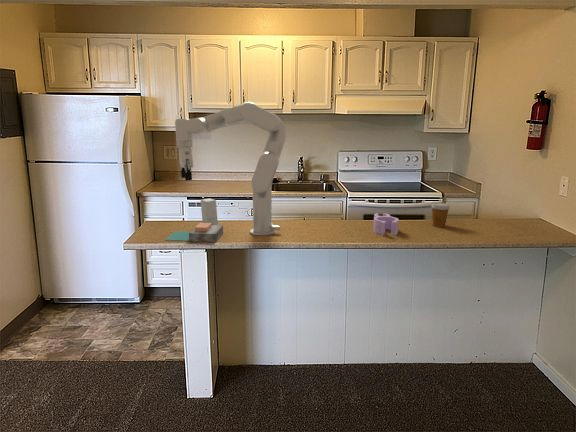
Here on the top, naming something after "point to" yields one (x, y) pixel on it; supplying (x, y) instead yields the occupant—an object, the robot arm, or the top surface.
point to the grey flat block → (207, 234)
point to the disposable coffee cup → (439, 214)
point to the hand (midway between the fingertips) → (186, 178)
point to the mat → (179, 236)
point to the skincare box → (209, 211)
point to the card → (203, 227)
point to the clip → (385, 224)
